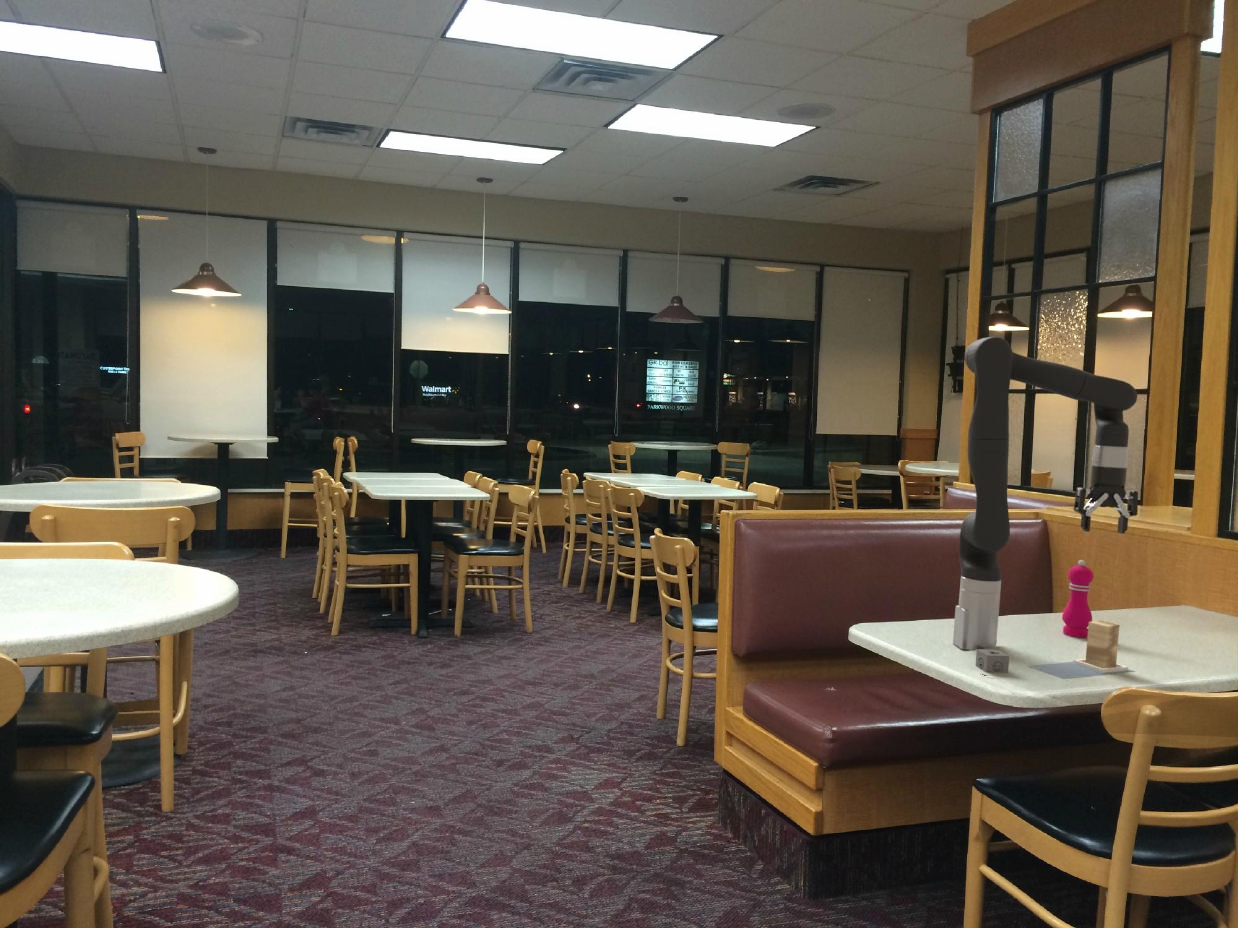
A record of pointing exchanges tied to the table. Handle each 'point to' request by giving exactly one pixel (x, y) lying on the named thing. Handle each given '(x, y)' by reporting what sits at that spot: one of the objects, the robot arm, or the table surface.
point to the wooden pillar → (1102, 644)
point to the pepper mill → (1078, 602)
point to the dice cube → (992, 661)
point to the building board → (1079, 669)
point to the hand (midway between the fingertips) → (1103, 532)
